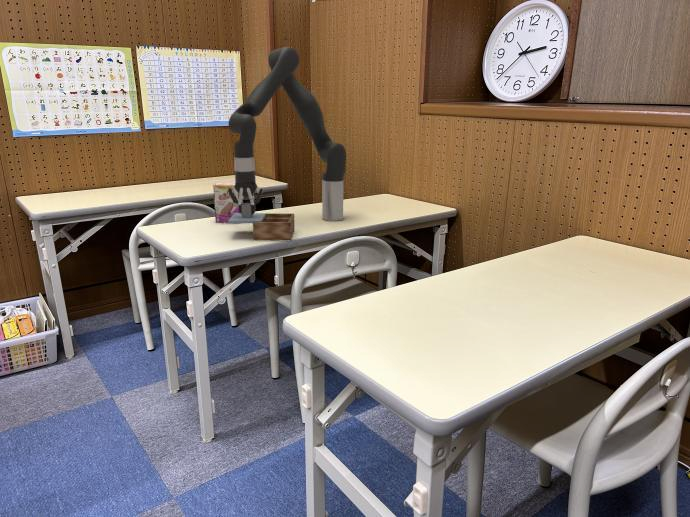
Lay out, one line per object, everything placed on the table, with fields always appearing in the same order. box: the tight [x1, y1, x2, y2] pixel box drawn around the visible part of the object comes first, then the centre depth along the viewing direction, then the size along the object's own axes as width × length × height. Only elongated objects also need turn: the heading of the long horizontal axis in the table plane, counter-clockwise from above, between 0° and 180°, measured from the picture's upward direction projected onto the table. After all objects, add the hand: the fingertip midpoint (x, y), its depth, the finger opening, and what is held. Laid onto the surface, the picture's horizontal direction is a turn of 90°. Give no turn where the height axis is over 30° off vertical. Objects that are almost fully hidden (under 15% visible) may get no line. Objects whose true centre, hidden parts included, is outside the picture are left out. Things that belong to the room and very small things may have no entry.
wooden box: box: [252, 212, 296, 242], centre depth 194 cm, size 14×15×7 cm
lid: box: [227, 202, 266, 224], centre depth 193 cm, size 12×12×6 cm
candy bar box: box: [212, 182, 244, 223], centre depth 212 cm, size 11×5×16 cm, turn 84°
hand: (247, 213), depth 193 cm, fingers closed on lid, 3 cm apart
